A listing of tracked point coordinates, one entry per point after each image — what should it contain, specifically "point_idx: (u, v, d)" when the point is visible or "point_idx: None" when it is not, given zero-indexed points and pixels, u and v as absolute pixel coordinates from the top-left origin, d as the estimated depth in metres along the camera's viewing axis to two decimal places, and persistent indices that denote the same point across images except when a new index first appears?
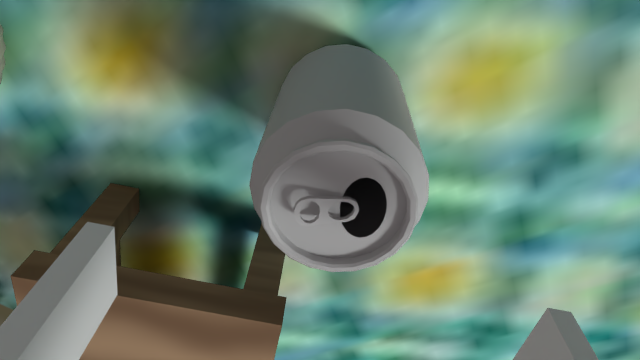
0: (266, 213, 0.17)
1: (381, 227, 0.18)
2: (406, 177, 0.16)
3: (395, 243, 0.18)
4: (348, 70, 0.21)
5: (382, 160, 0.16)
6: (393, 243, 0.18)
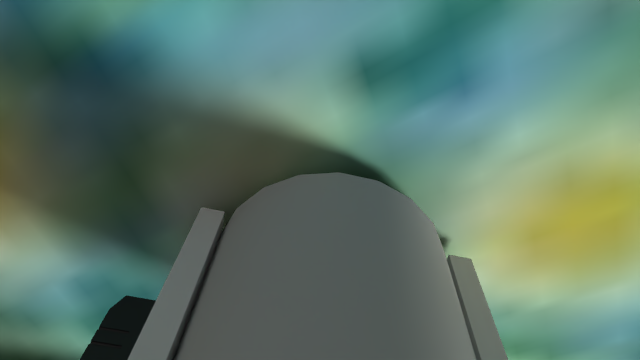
0: None
1: None
2: None
3: None
4: (339, 294, 0.09)
5: None
6: None
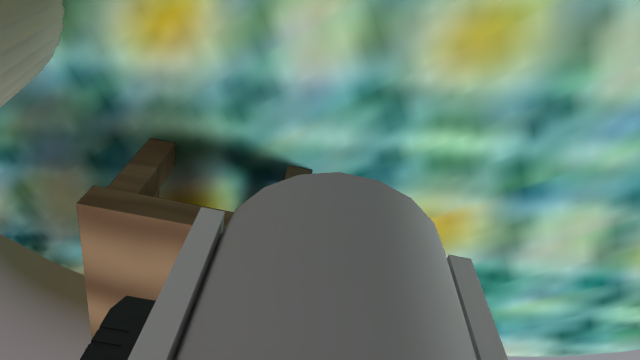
0: None
1: None
2: None
3: None
4: (339, 293, 0.09)
5: None
6: None
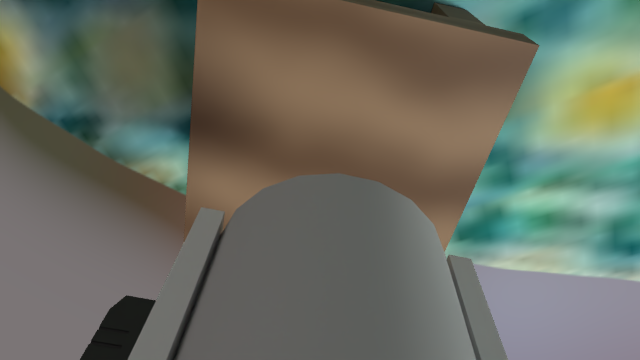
0: None
1: None
2: None
3: None
4: (339, 295, 0.09)
5: None
6: None
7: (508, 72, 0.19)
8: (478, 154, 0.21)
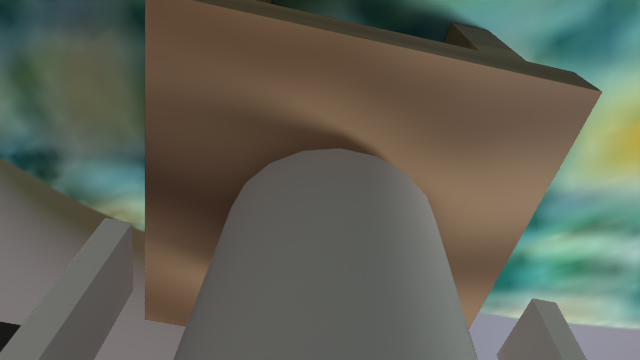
0: None
1: None
2: None
3: None
4: (340, 245, 0.10)
5: None
6: None
7: (558, 125, 0.14)
8: (514, 223, 0.16)
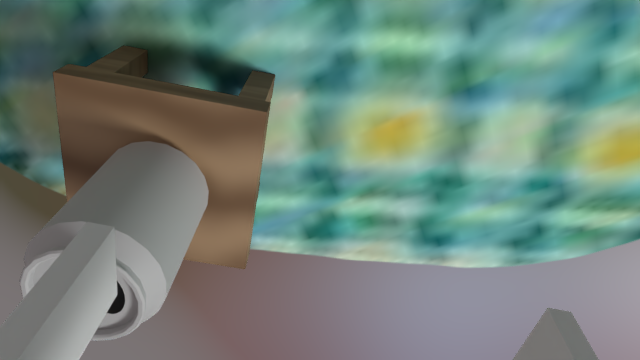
0: None
1: (126, 306, 0.23)
2: (122, 273, 0.22)
3: (135, 319, 0.23)
4: (120, 175, 0.26)
5: None
6: (134, 318, 0.23)
7: (253, 128, 0.30)
8: (250, 178, 0.32)
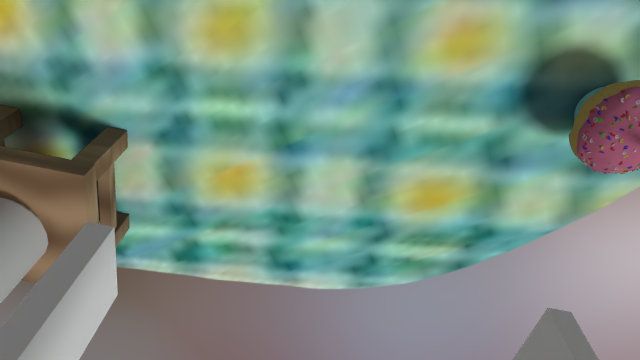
0: None
1: None
2: None
3: None
4: None
5: None
6: None
7: (76, 187, 0.38)
8: (82, 223, 0.40)
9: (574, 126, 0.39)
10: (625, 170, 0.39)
